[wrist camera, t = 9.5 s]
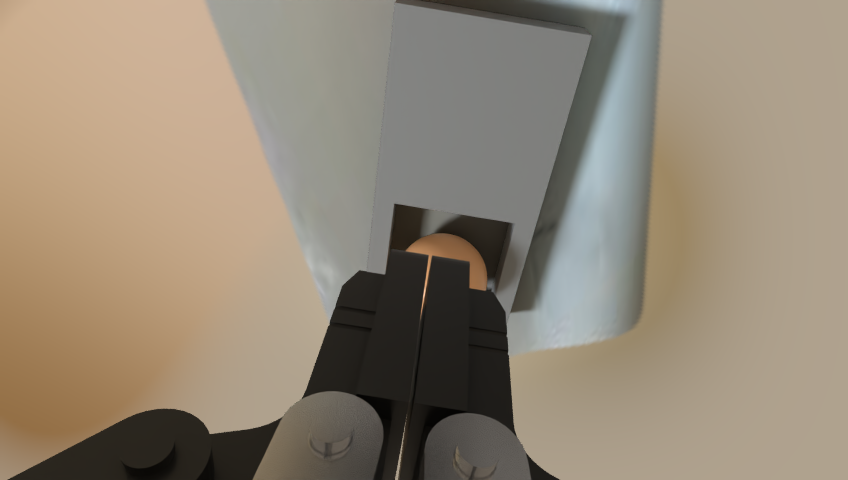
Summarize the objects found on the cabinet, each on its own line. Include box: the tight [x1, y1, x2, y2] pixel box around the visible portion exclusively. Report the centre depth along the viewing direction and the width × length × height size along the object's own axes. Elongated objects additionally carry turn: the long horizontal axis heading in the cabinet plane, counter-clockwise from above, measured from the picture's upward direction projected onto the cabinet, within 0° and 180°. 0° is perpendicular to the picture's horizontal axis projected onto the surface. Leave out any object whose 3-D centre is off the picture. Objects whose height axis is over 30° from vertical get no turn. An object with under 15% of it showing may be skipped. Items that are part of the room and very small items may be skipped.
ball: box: [406, 233, 487, 319], centre depth 41 cm, size 7×7×7 cm
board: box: [366, 0, 592, 325], centre depth 40 cm, size 24×12×2 cm, turn 172°
